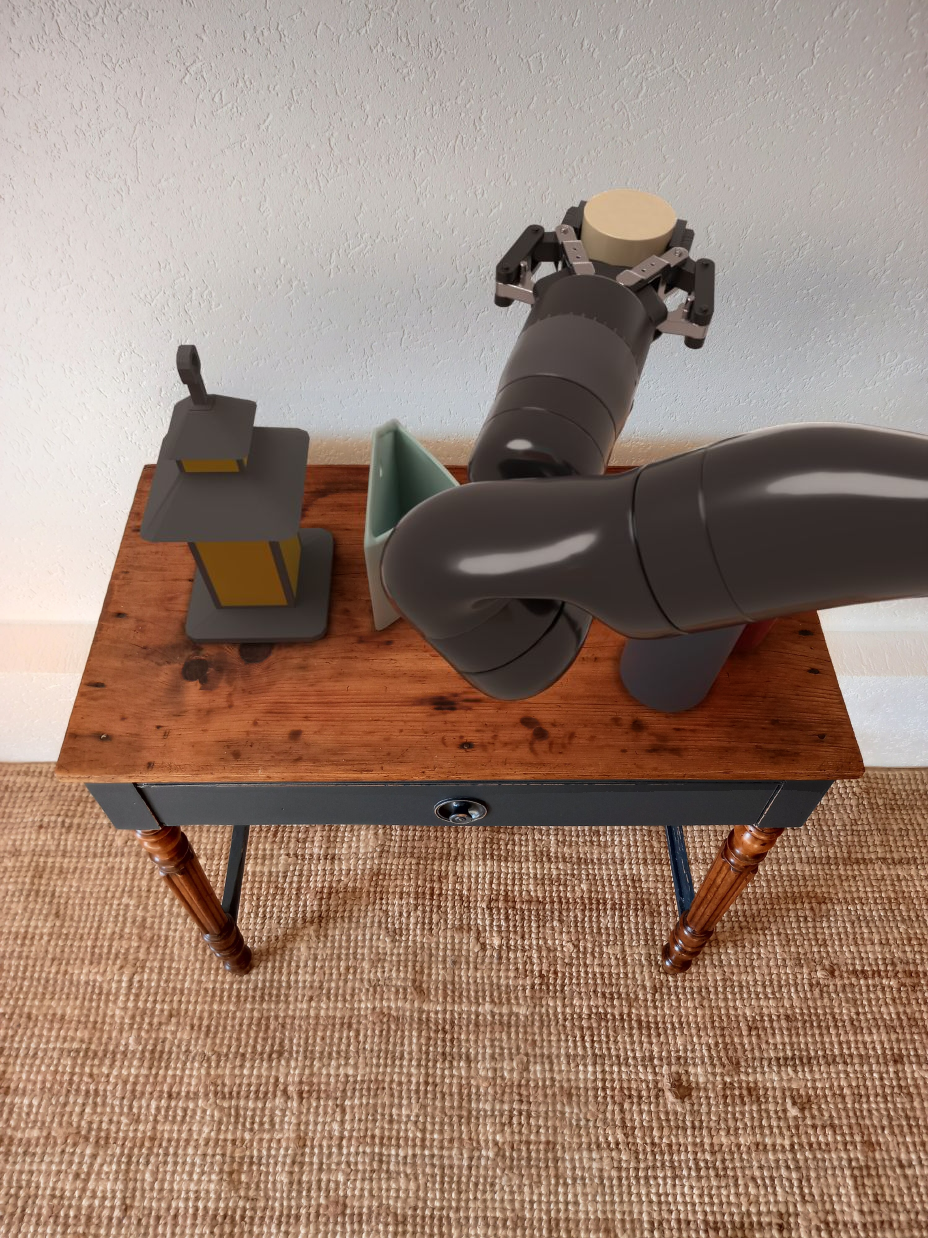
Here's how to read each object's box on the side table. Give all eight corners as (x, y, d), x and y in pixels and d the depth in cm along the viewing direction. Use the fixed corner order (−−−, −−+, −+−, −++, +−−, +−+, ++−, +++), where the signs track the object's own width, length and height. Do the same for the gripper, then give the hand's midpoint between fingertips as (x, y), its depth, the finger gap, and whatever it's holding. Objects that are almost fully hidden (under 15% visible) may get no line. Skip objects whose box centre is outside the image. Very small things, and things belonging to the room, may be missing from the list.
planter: (452, 638, 81) (452, 508, 65) (374, 630, 82) (355, 500, 65) (468, 515, 90) (472, 374, 74) (398, 509, 91) (386, 367, 74)
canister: (656, 317, 61) (685, 199, 53) (636, 365, 57) (664, 248, 50) (580, 298, 62) (598, 180, 54) (556, 345, 59) (572, 226, 51)
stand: (718, 649, 81) (787, 520, 64) (701, 724, 76) (770, 606, 60) (631, 622, 83) (677, 489, 66) (609, 694, 78) (652, 571, 61)
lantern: (185, 643, 80) (64, 417, 55) (206, 534, 88) (108, 292, 63) (325, 641, 81) (269, 415, 56) (334, 533, 88) (288, 291, 63)
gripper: (715, 348, 42) (754, 187, 51) (454, 292, 44) (535, 147, 53) (680, 452, 48) (720, 292, 57) (453, 398, 50) (526, 252, 59)
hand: (631, 223), depth 55 cm, fingers closed on canister, 6 cm apart
